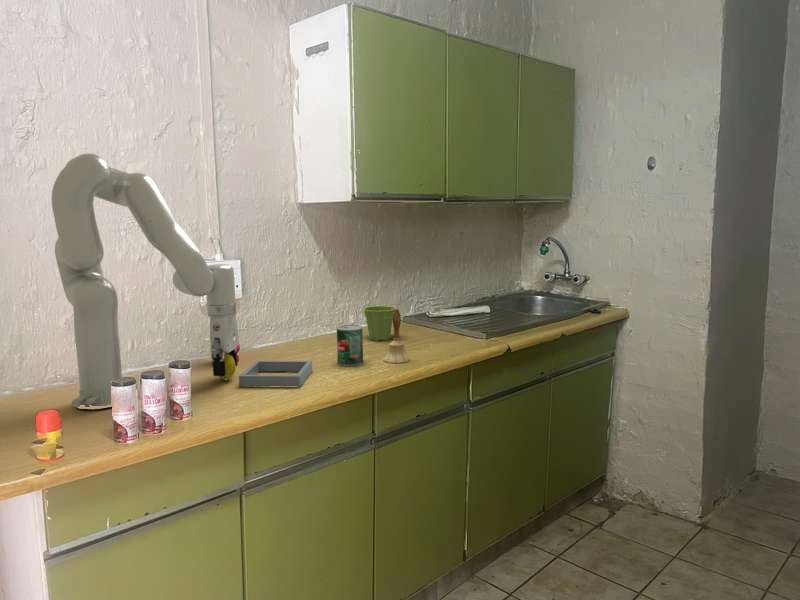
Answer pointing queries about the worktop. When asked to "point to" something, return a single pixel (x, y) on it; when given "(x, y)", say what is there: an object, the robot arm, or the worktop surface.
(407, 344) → the worktop surface
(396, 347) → the hand bell
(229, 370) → the lemon
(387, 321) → the plant pot
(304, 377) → the box
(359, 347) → the canned tomato
